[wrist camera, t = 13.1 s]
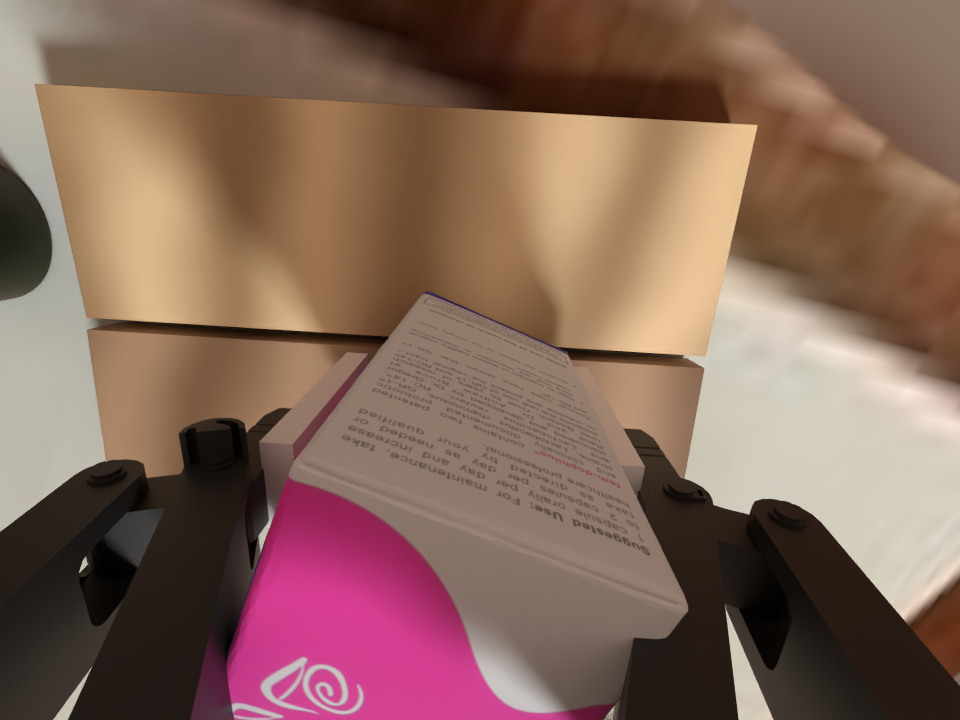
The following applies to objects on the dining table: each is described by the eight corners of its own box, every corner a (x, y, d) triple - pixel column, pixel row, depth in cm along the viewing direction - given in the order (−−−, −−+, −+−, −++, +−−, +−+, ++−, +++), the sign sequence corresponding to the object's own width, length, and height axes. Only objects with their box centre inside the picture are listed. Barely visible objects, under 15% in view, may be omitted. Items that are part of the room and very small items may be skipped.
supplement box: (419, 284, 16) (289, 451, 5) (569, 350, 17) (726, 613, 6) (364, 421, 18) (183, 758, 7) (503, 475, 19) (532, 856, 8)
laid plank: (118, 308, 20) (86, 317, 18) (75, 94, 17) (34, 84, 15) (688, 344, 19) (705, 356, 18) (733, 132, 17) (757, 125, 15)
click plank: (687, 358, 19) (704, 368, 18) (658, 527, 21) (671, 549, 20) (119, 322, 20) (86, 329, 18) (141, 493, 21) (114, 512, 20)
